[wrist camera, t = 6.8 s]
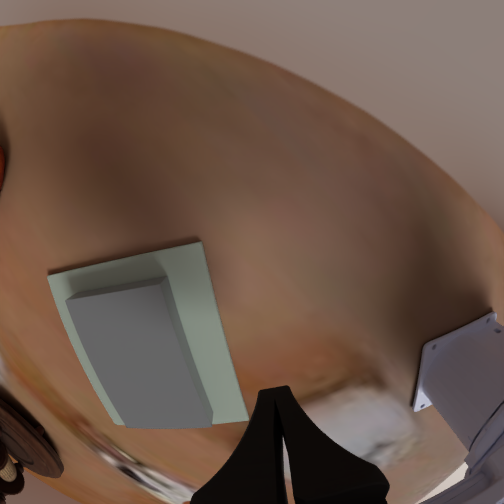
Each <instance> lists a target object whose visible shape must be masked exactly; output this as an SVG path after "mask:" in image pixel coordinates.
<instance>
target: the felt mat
mask: <svg viewBox="0 0 504 504" xmlns="http://www.w3.org/2000/svg"><path fill="white" fill-rule="evenodd" d="M163 276H168V279H169V282H170V286H171V289H172V293H173V296H174V300H175V303H176V307H177V310H178V313H179V316H180V320H181V323H182V326H183V329H184V332H185V335H186V339H187V342H188V345H189V348H190V350H191V353H192V356H193V359H194V362H195V365H196V368H197V370H198V373H199V376H200V379H201V381H202V384H203V387H204V389H205V392H206V395H207V397H208V400H209V402H210V405H211V407H212V410H213V412H214V413H213V421H212V424H219V423H229V422H238V421H246V420H249V416H248V413H247V409H246V406H245V403H244V400H243V396H242V393H241V390H240V386H239V383H238V379H237V376H236V373H235V369H234V366H233V362H232V358H231V355H230V351H229V348H228V344H227V340H226V337H225V333H224V329H223V325H222V322H221V318H220V314H219V310H218V306H217V302H216V298H215V294H214V290H213V286H212V282H211V278H210V274H209V270H208V265H207V261H206V257H205V252H204V248H203V244H202V241H200V242H196V243H191V244H186V245H181V246H176V247H172V248H167V249H162V250H157V251H153V252H148V253H144V254H139V255H134V256H130V257H125V258H121V259H116V260H112V261H107V262H103V263H99V264H94V265H90V266H85V267H81V268H77V269H73V270H68V271H64V272H60V273H56V274H52V275H49V276H47V278H48V282H49V285H50V288H51V291H52V294H53V297H54V300H55V303H56V305H57V308H58V311H59V314H60V316H61V319H62V321H63V324H64V326H65V329H66V331H67V334H68V336H69V338H70V341H71V343H72V345H73V348H74V350H75V352H76V354H77V356H78V358H79V360H80V363H81V365H82V367H83V369H84V371H85V373H86V375H87V376H88V378H89V380H90V382H91V384H92V386H93V388H94V389H95V391H96V393H97V395H98V397H99V398H100V400H101V402H102V403H103V405H104V407H105V408H106V410H107V412H108V413H109V415H110V417H111V418H112V420H113V421H114V423H115V424H117V425H125V424H124V422H123V421H122V419H121V418H120V416H119V414H118V413H117V411H116V409H115V408H114V406H113V404H112V403H111V401H110V399H109V397H108V396H107V394H106V392H105V390H104V388H103V386H102V385H101V383H100V381H99V379H98V377H97V375H96V373H95V371H94V369H93V367H92V365H91V363H90V361H89V359H88V356H87V354H86V352H85V350H84V348H83V345H82V343H81V341H80V338H79V336H78V334H77V331H76V329H75V326H74V324H73V321H72V319H71V316H70V313H69V311H68V308H67V305H66V302H65V300H66V299H68V298H69V297H71V296H72V295H74V294H75V293H77V292H81V291H87V290H92V289H98V288H103V287H109V286H114V285H120V284H125V283H131V282H136V281H141V280H147V279H152V278H158V277H163Z"/></svg>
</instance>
